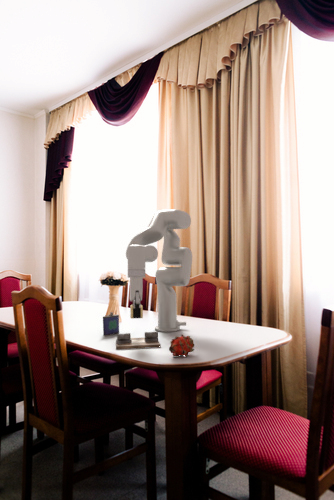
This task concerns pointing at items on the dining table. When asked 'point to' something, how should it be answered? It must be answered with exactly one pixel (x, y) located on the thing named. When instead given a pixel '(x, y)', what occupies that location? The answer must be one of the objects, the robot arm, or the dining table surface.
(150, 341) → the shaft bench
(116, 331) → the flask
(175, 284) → the robot arm
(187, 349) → the dragon fruit
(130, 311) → the coupler
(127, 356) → the dining table surface
